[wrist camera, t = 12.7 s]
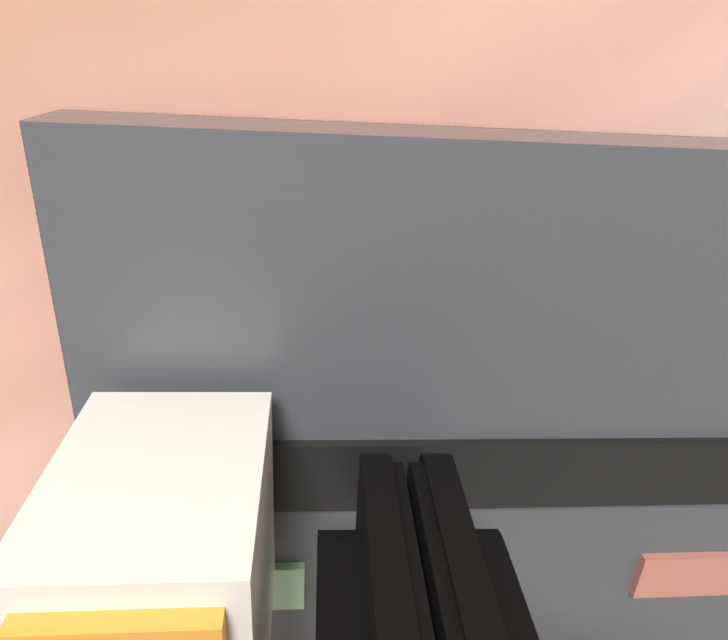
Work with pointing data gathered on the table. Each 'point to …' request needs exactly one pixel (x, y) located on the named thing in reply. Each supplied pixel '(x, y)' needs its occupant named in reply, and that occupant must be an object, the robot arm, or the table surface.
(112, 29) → the table surface
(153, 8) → the table surface
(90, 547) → the block
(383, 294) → the breaker panel
